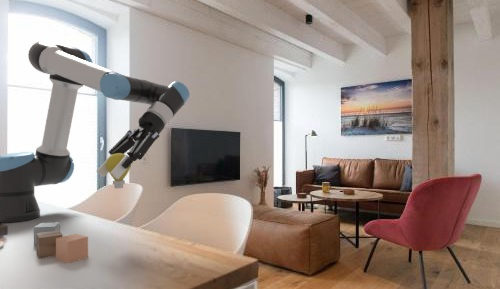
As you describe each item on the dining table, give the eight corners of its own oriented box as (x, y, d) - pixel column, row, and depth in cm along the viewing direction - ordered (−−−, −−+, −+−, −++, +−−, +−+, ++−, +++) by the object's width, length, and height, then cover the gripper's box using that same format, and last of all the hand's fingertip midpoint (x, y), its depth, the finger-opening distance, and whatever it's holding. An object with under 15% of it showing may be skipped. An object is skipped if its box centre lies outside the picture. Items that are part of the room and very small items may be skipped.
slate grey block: (40, 240, 98) (40, 223, 98) (60, 239, 99) (60, 222, 99) (33, 246, 93) (33, 227, 93) (54, 245, 94) (54, 226, 94)
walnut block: (36, 253, 87) (36, 233, 87) (59, 249, 90) (59, 230, 90) (39, 258, 83) (39, 237, 83) (62, 254, 86) (62, 234, 86)
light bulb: (100, 188, 98) (100, 153, 98) (117, 185, 105) (117, 152, 105) (120, 190, 96) (120, 153, 96) (136, 187, 102) (135, 152, 102)
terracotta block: (55, 259, 83) (55, 238, 83) (76, 253, 87) (76, 233, 87) (67, 263, 80) (67, 241, 80) (88, 257, 84) (88, 236, 84)
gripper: (182, 127, 106) (136, 186, 94) (143, 128, 118) (97, 181, 106) (168, 108, 102) (117, 168, 89) (129, 111, 114) (80, 164, 101)
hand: (107, 175), depth 98 cm, fingers closed on light bulb, 7 cm apart
